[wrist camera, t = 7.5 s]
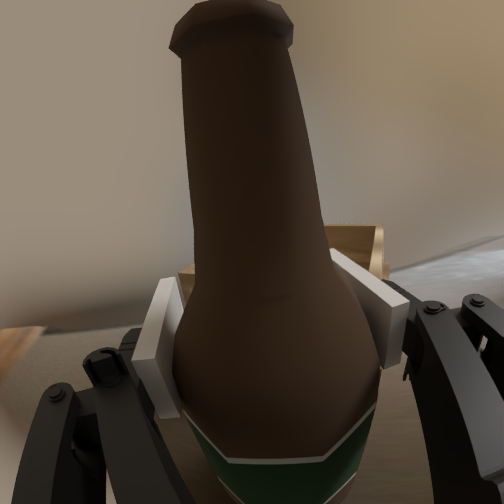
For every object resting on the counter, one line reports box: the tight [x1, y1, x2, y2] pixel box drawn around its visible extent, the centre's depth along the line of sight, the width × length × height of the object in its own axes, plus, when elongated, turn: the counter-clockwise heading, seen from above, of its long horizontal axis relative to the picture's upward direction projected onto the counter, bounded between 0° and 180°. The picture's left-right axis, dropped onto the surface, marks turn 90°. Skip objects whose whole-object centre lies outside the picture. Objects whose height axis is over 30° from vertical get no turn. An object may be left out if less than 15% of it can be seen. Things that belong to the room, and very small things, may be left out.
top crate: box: [178, 224, 384, 304], centre depth 25 cm, size 15×15×5 cm
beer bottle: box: [169, 0, 380, 504], centre depth 10 cm, size 8×8×24 cm
